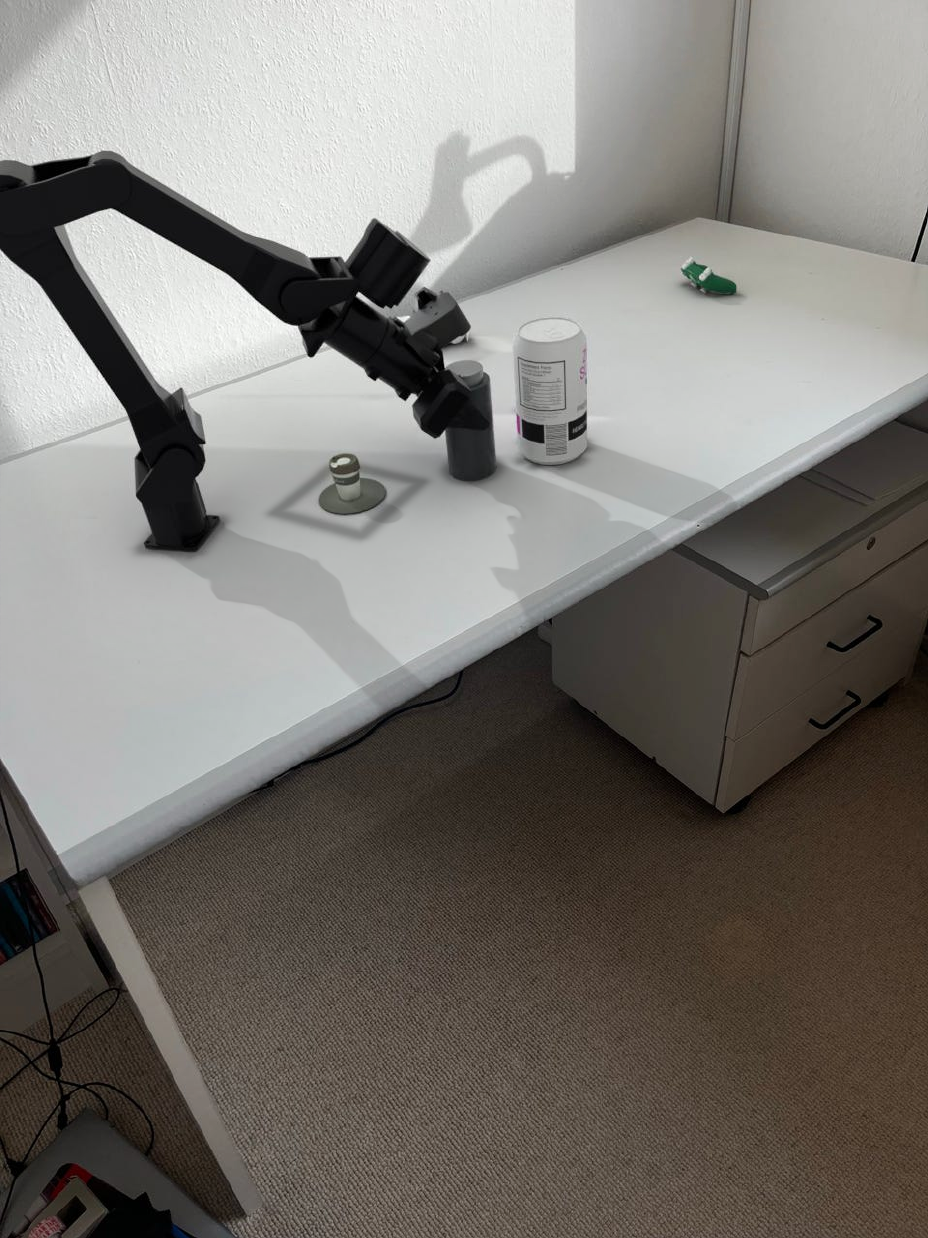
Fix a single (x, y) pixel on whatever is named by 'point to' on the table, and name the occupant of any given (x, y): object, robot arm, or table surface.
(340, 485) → the coffee cup
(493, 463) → the flask
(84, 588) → the table surface
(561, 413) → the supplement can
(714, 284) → the green toy car
